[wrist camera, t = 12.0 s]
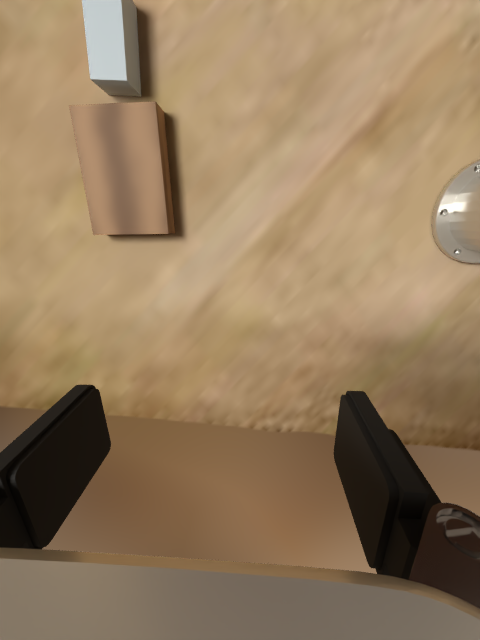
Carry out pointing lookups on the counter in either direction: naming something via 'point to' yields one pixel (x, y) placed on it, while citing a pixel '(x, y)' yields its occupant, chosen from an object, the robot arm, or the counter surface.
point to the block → (113, 45)
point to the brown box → (124, 167)
